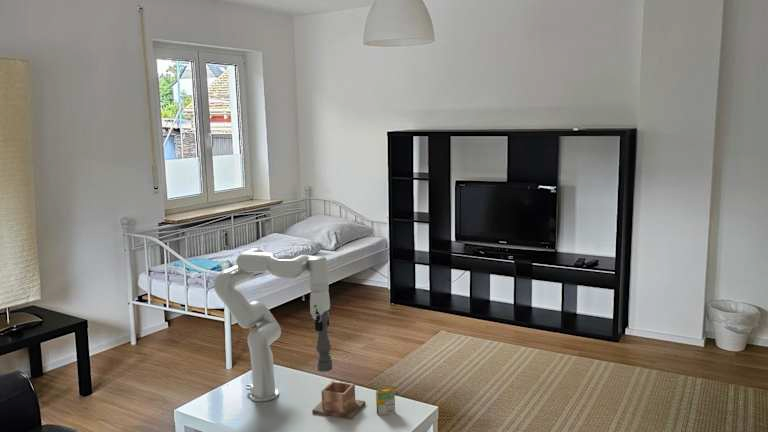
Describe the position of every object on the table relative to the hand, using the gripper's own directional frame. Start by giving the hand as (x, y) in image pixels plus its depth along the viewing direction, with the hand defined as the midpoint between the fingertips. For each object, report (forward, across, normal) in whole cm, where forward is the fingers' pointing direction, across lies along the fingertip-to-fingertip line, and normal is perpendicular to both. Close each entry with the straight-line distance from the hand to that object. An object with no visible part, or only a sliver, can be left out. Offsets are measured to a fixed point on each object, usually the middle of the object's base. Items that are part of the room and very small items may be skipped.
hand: (322, 327), depth 264 cm
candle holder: (+18, 0, 0) cm, 18 cm away
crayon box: (+35, 0, +26) cm, 44 cm away
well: (+34, +2, +6) cm, 35 cm away
